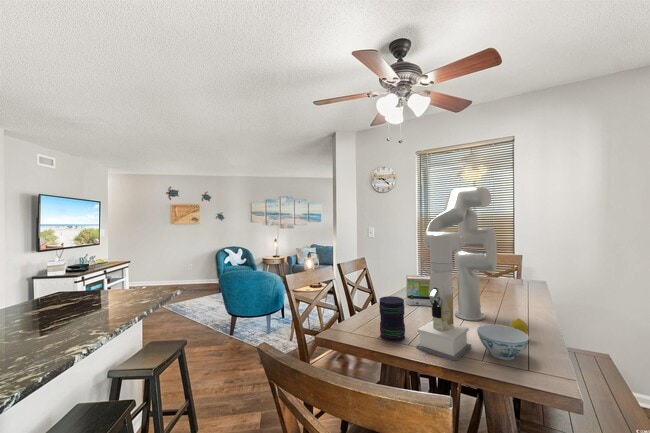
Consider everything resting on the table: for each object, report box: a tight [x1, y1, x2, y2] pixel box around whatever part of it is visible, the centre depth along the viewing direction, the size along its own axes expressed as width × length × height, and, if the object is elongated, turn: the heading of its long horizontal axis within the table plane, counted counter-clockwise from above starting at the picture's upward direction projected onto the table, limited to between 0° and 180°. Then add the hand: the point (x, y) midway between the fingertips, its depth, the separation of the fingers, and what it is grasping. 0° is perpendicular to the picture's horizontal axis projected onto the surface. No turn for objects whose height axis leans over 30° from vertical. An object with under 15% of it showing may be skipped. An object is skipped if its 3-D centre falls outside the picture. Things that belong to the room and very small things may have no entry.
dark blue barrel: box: [379, 295, 406, 343], centre depth 116 cm, size 10×10×15 cm
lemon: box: [510, 318, 529, 335], centre depth 111 cm, size 6×6×8 cm
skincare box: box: [432, 294, 455, 331], centre depth 106 cm, size 6×4×12 cm
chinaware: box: [476, 324, 529, 361], centre depth 99 cm, size 15×15×8 cm
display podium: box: [415, 320, 472, 362], centre depth 105 cm, size 14×14×7 cm
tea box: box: [406, 274, 432, 307], centre depth 160 cm, size 15×10×15 cm, turn 77°
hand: (442, 314), depth 105 cm, fingers open, 9 cm apart
